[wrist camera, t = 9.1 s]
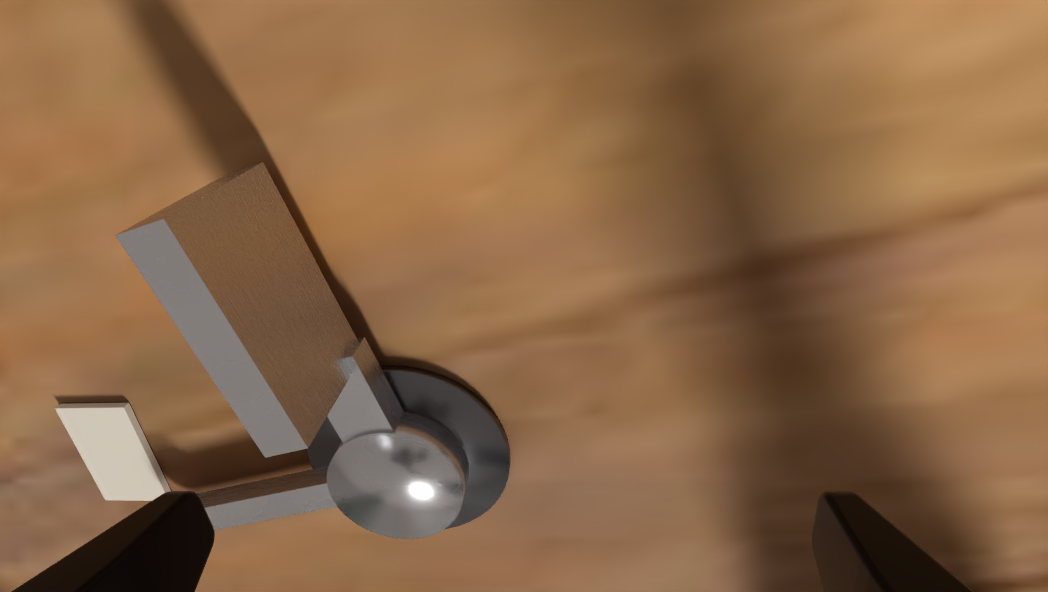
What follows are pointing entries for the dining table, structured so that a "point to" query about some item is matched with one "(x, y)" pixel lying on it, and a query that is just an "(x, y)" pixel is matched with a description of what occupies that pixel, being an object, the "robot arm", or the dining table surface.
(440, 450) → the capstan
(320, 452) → the foot base
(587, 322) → the dining table surface
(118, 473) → the strip
